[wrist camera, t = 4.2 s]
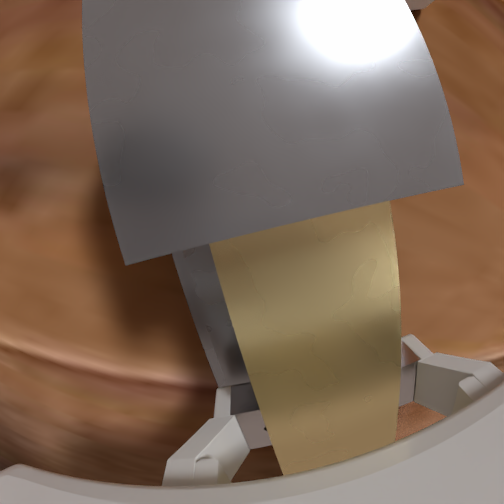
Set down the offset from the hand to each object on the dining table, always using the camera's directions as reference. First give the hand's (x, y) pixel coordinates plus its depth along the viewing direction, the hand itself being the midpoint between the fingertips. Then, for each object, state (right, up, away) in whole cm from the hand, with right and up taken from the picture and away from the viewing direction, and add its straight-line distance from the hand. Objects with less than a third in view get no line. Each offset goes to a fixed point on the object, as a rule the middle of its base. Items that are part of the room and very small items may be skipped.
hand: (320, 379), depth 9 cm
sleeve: (-1, +5, +2) cm, 6 cm away
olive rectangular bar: (0, +1, +2) cm, 2 cm away
